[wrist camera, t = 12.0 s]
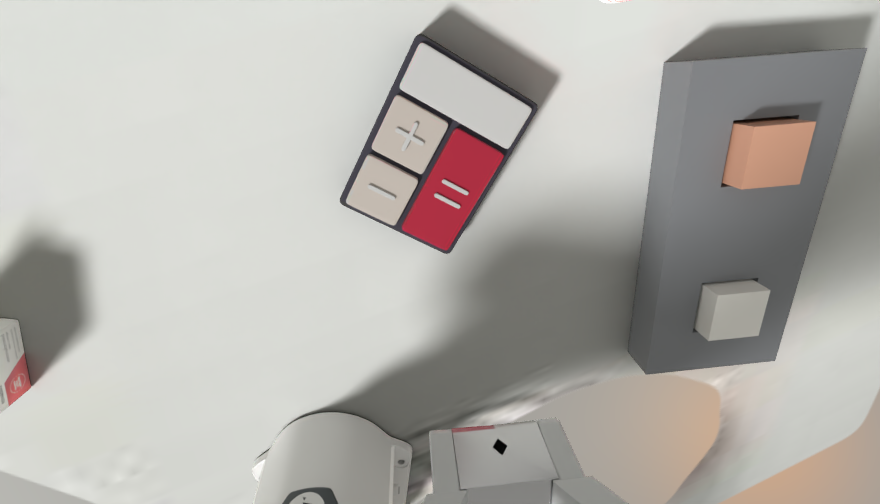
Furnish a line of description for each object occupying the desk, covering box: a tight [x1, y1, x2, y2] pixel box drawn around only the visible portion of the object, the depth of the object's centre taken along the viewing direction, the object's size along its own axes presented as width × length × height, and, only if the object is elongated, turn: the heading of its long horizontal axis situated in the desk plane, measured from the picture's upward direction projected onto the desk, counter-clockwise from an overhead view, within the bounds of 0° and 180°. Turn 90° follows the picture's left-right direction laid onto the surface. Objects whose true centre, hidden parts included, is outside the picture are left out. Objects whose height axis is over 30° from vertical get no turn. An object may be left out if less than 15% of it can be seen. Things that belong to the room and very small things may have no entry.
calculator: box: [340, 34, 537, 254], centre depth 37 cm, size 11×4×15 cm
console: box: [628, 48, 867, 374], centre depth 41 cm, size 30×14×4 cm, turn 4°
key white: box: [693, 279, 771, 341], centre depth 42 cm, size 5×5×4 cm
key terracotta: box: [722, 117, 816, 190], centre depth 36 cm, size 5×5×4 cm
